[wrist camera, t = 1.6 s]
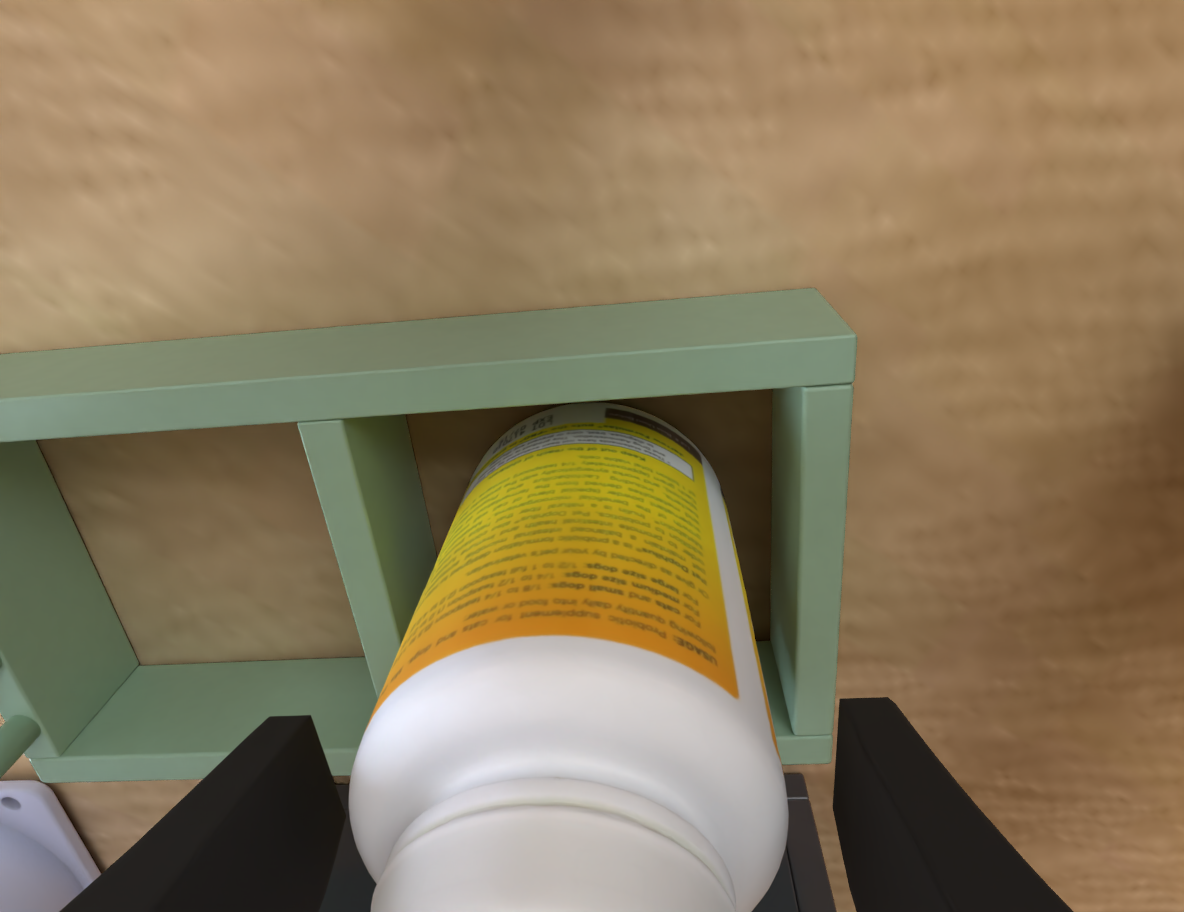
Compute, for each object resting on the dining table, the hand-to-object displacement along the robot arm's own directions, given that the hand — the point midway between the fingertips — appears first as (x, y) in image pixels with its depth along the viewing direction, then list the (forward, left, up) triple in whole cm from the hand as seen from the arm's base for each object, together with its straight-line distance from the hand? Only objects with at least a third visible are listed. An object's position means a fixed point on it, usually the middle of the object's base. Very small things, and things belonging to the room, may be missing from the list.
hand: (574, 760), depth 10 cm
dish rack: (-4, 0, -7) cm, 8 cm away
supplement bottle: (0, 0, -7) cm, 7 cm away
